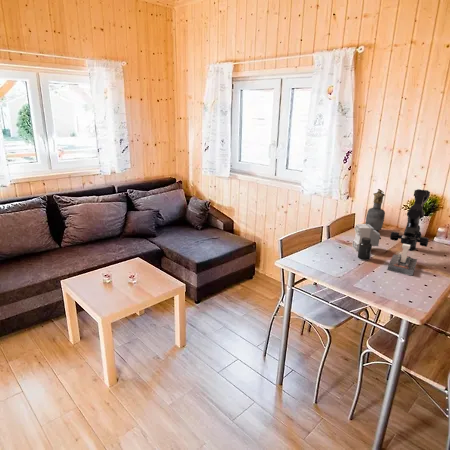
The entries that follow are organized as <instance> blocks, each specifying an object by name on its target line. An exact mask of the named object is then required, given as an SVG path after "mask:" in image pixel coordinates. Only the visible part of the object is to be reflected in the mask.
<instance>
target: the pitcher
mask: <svg viewBox="0 0 450 450" xmlns="http://www.w3.org/2000/svg"><path fill="white" fill-rule="evenodd" d="M373 195H374V196H373V207H371V208H369V209H368V210H367V213H366V218H365V223H364V224H369V225H370V226H372V227H373V228H374V230H376V231H377V232H378V233H380V230H382V228H383V225H384V221H385V214H386V212H385V210H384V209H382V204H383V202H384V201H383V200H384V197H385V196H386V194H385V192H384V191H383V190H381V189H380V188H378V189H377V192H375V193H373Z"/></svg>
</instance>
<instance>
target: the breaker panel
mask: <svg viewBox="0 0 450 450" xmlns="http://www.w3.org/2000/svg"><path fill="white" fill-rule="evenodd" d="M401 256H402V254H394V253H393V255H392V256H391V258H390V261H389V263H388V265H387V271H389V272H390V271H391V272H395V273H399V274H403V275H406V276H407V275H408V276H410V277H411V276H413V275H414V272H415V269H416V265H417V264H418V263H417V262H418V259H417V258H413V257H411V256H407V258H406V262H405V263H403V262H400V261H401Z"/></svg>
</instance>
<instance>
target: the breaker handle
mask: <svg viewBox="0 0 450 450" xmlns="http://www.w3.org/2000/svg"><path fill="white" fill-rule="evenodd" d="M401 249H402V253H401V261H400V262H403V263H405V262H406V258H407V257H408V253H409V250H408V249H410V245H409V244H403V243H402V246H401Z"/></svg>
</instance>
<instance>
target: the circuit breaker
mask: <svg viewBox="0 0 450 450" xmlns="http://www.w3.org/2000/svg"><path fill="white" fill-rule="evenodd" d="M354 232H355V236H354V239H353V240H352V246H351V247H352V248H353V250H354V251H355V252H358V249H359V243H360V242H362V241H361V240H362V238H363V237H367V238H370V239H371V244H372V247H379V244H380V240H381V239H382V238H381V234H380V232H377V231H376V230H374V228H373V227H372V226H370V225H369V224H365V223H356V224H355V226H354Z"/></svg>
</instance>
